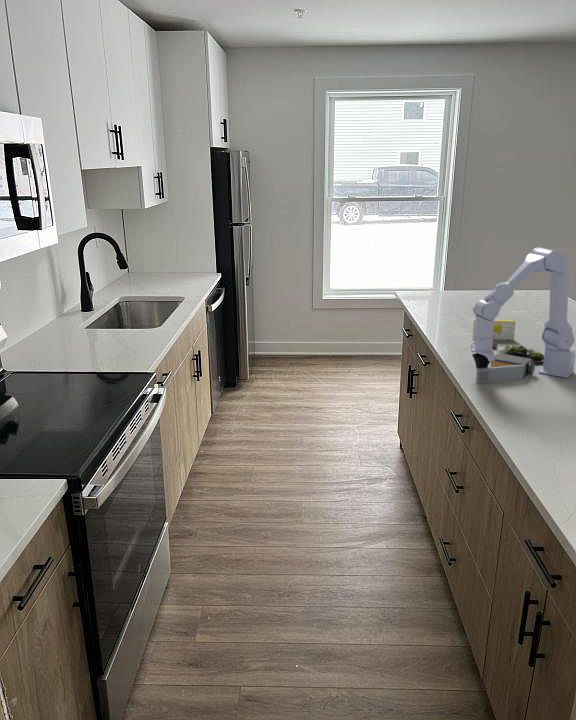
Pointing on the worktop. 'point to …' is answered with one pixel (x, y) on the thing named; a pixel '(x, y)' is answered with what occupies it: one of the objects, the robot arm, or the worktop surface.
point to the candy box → (501, 330)
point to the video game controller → (494, 345)
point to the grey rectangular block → (513, 362)
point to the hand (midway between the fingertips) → (481, 374)
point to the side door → (500, 373)
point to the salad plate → (524, 353)
